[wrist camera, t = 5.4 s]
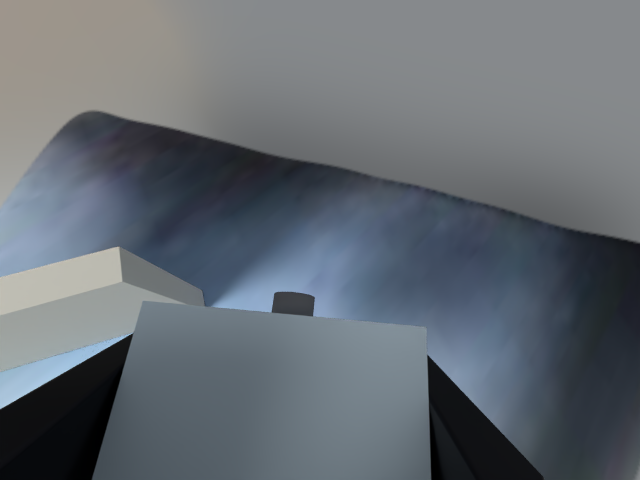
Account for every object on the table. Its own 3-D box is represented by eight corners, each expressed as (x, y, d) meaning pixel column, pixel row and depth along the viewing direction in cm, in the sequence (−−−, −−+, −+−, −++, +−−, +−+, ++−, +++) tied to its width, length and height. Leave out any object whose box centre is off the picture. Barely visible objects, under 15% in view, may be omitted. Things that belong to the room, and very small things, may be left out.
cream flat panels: (239, 494, 18) (159, 660, 8) (-24, 593, 16) (-502, 947, 7) (202, 290, 22) (119, 246, 12) (-13, 352, 20) (-304, 356, 10)
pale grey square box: (357, 437, 13) (434, 576, 5) (218, 424, 13) (73, 542, 5) (362, 322, 15) (424, 289, 7) (238, 311, 15) (153, 264, 7)
